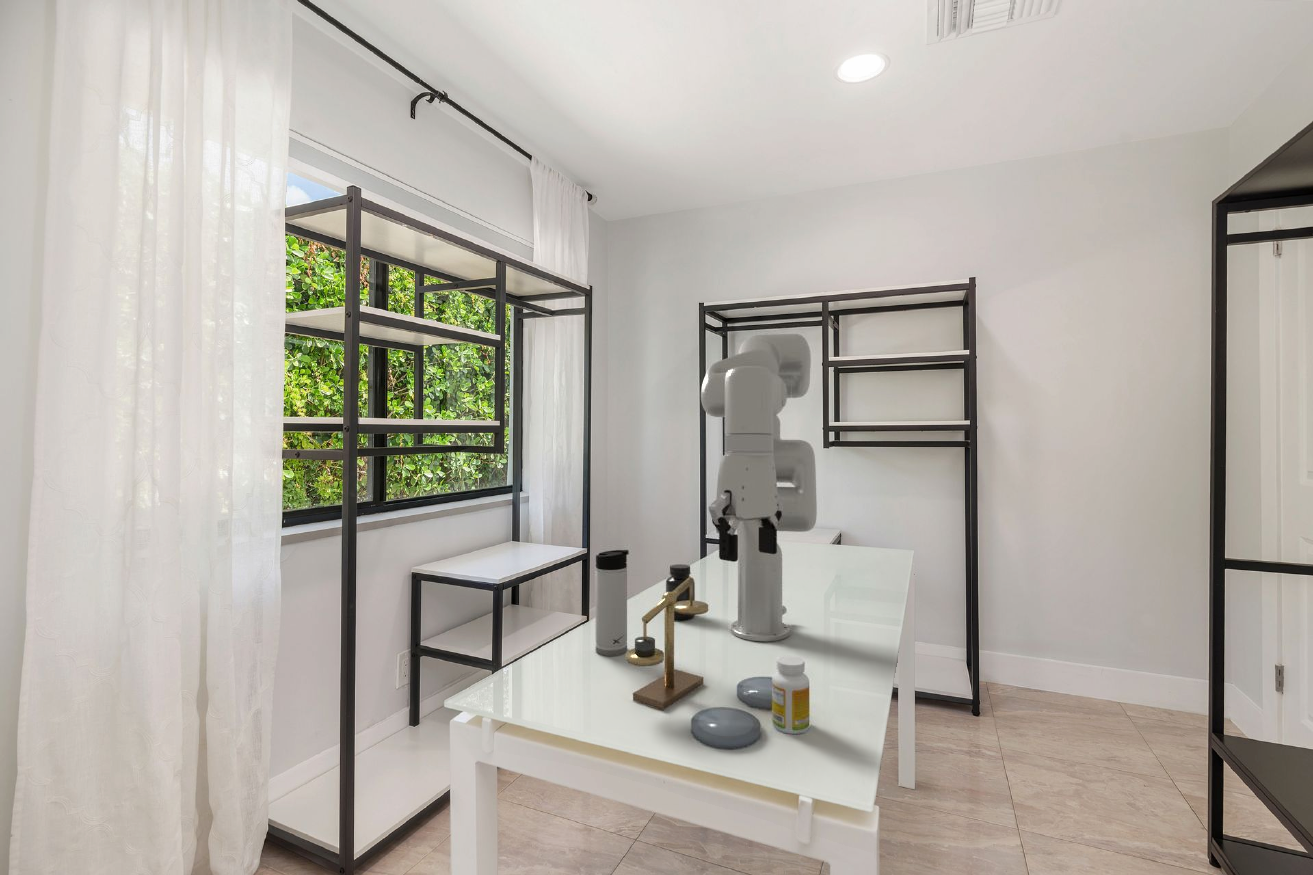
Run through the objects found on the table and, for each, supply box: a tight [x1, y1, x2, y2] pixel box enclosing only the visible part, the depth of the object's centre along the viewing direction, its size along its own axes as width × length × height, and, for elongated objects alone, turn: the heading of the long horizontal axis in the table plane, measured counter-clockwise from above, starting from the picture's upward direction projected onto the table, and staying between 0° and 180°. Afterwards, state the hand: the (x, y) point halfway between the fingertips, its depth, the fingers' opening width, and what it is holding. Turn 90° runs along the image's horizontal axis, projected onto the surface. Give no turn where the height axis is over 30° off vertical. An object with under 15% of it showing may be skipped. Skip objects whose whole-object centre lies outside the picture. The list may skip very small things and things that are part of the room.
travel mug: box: [594, 549, 630, 657], centre depth 118 cm, size 6×7×20 cm
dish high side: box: [736, 676, 772, 712], centre depth 97 cm, size 10×10×1 cm
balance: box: [625, 576, 709, 711], centre depth 99 cm, size 20×6×18 cm, turn 144°
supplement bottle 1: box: [665, 563, 696, 622], centre depth 140 cm, size 7×7×12 cm
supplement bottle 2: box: [771, 655, 811, 735], centre depth 87 cm, size 5×5×10 cm
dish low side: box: [690, 706, 762, 750], centre depth 86 cm, size 10×10×1 cm
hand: (748, 556), depth 92 cm, fingers open, 9 cm apart
